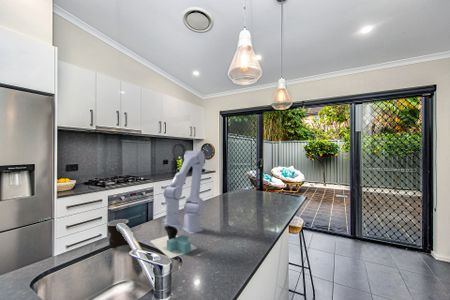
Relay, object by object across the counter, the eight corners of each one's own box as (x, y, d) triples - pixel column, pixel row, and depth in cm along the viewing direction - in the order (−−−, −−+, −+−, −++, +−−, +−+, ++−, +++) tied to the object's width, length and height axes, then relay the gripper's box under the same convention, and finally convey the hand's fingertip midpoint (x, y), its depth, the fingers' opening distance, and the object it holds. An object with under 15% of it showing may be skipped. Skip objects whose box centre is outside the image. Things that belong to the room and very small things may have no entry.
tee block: (166, 249, 84) (166, 240, 84) (184, 242, 90) (184, 234, 91) (178, 257, 78) (178, 247, 78) (196, 249, 84) (196, 240, 84)
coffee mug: (108, 241, 92) (109, 220, 92) (129, 239, 95) (129, 218, 95) (103, 253, 81) (103, 229, 81) (125, 249, 84) (126, 226, 84)
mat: (149, 241, 92) (149, 240, 92) (174, 234, 101) (174, 233, 101) (170, 260, 76) (170, 258, 76) (198, 249, 85) (198, 248, 85)
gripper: (157, 210, 92) (157, 239, 92) (172, 217, 82) (171, 250, 81) (171, 207, 97) (170, 235, 97) (186, 214, 86) (186, 245, 86)
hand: (172, 241), depth 89 cm, fingers closed
